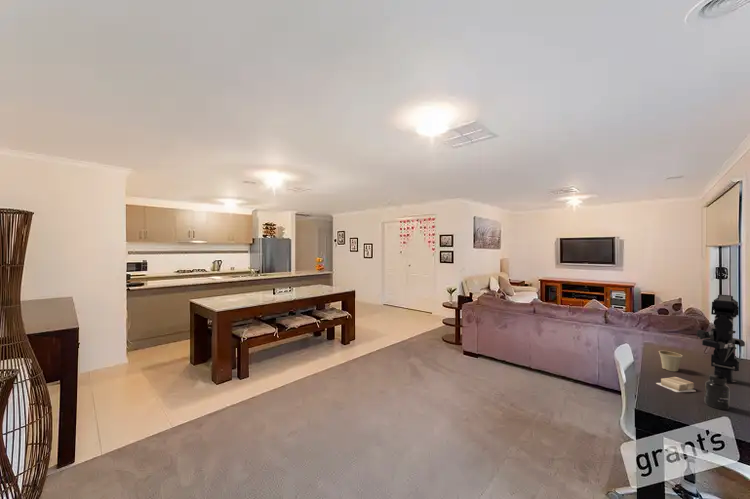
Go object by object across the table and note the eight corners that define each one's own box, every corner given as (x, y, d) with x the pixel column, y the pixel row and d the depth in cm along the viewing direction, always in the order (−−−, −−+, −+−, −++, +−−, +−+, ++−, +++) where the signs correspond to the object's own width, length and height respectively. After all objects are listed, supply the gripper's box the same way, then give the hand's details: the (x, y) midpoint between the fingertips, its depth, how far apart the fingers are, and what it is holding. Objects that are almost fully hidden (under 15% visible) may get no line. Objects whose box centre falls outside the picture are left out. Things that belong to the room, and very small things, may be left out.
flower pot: (687, 373, 162) (687, 357, 162) (666, 372, 164) (666, 355, 164) (673, 367, 171) (674, 351, 171) (653, 365, 173) (654, 350, 173)
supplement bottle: (725, 411, 123) (726, 381, 123) (701, 404, 129) (702, 375, 129) (731, 408, 126) (732, 378, 126) (708, 400, 132) (708, 372, 132)
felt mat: (674, 383, 150) (674, 382, 150) (695, 391, 141) (695, 390, 141) (656, 383, 149) (656, 382, 149) (676, 392, 140) (676, 391, 140)
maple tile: (675, 376, 150) (660, 378, 147) (693, 382, 143) (679, 385, 140) (675, 382, 150) (660, 384, 147) (693, 388, 143) (679, 391, 140)
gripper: (713, 322, 154) (713, 354, 154) (688, 324, 149) (687, 357, 149) (745, 328, 143) (745, 362, 143) (719, 330, 138) (718, 365, 138)
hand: (722, 361), depth 144 cm, fingers closed
